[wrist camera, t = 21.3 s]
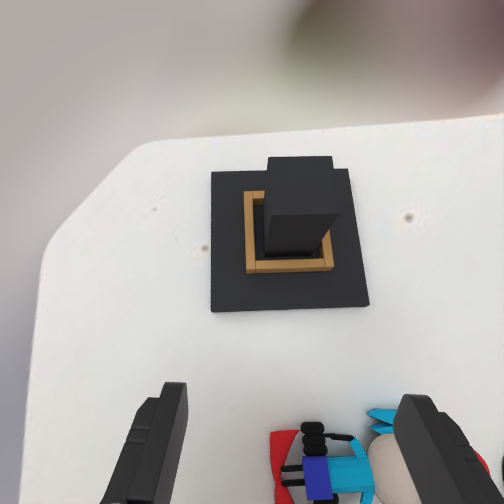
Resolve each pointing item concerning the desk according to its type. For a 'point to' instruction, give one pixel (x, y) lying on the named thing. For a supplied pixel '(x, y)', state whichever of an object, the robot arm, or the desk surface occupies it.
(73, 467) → the desk surface
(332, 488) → the toy figure
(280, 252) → the block
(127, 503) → the robot arm
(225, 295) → the pad
